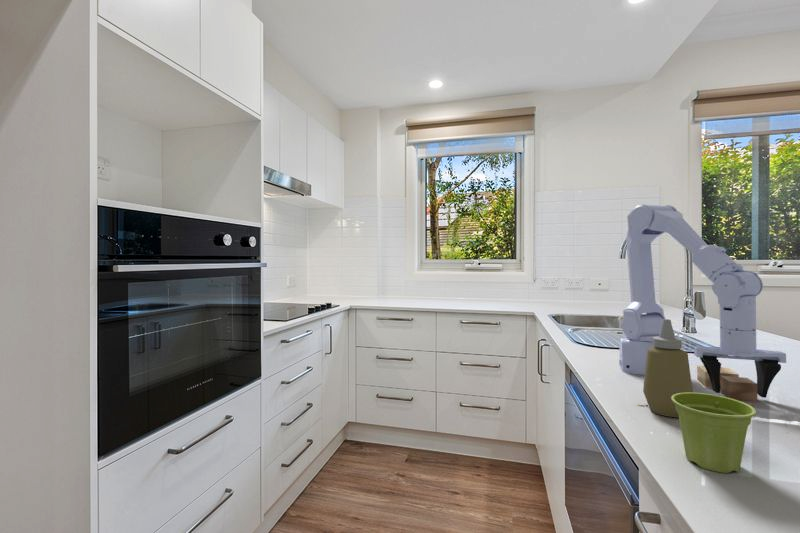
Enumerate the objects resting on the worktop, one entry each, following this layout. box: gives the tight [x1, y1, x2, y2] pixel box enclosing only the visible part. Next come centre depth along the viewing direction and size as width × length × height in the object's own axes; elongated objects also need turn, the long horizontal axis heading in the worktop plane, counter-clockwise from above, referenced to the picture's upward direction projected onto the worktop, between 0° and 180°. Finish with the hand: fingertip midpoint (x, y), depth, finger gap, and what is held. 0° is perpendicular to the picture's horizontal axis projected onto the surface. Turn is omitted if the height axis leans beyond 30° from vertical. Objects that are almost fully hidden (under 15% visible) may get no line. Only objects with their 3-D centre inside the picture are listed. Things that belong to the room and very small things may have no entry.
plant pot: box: [671, 392, 757, 474], centre depth 55 cm, size 9×9×9 cm
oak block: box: [696, 365, 740, 390], centre depth 88 cm, size 6×6×4 cm
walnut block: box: [720, 376, 758, 404], centre depth 80 cm, size 4×4×4 cm
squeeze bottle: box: [642, 318, 694, 418], centre depth 74 cm, size 8×8×18 cm
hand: (738, 393), depth 80 cm, fingers open, 7 cm apart
